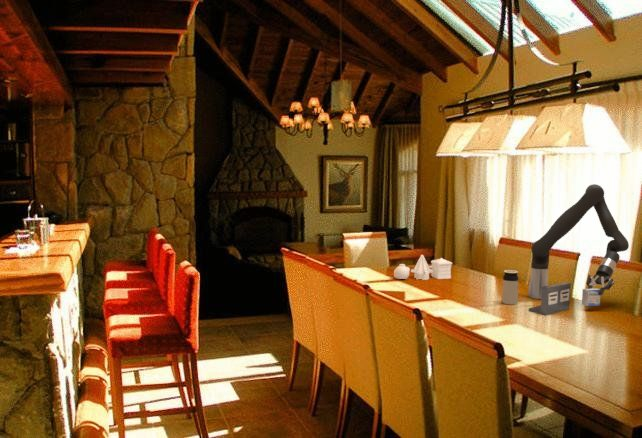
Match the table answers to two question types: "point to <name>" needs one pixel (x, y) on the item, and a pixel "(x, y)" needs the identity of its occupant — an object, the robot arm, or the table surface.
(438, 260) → the decorative object set
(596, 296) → the medicine box
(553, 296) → the label panel
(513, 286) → the travel mug
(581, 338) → the table surface
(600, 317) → the table surface
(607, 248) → the robot arm
